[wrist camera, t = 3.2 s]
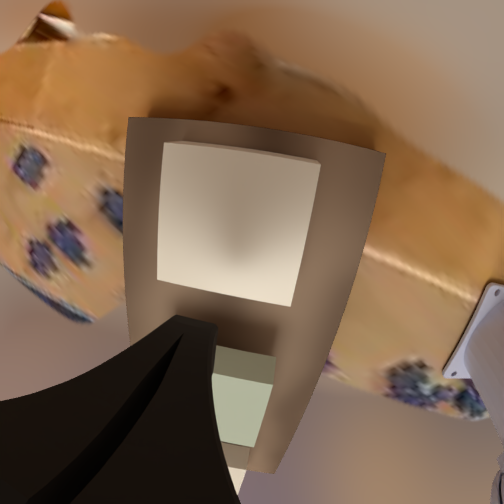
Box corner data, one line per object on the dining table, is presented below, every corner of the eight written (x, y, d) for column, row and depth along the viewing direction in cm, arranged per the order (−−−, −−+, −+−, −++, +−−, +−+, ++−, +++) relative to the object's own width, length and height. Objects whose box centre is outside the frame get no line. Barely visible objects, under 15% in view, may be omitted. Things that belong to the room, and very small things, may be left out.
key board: (374, 151, 14) (386, 153, 12) (275, 457, 24) (274, 473, 22) (146, 117, 15) (128, 117, 13) (155, 429, 25) (148, 444, 23)
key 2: (250, 447, 18) (246, 470, 17) (240, 478, 21) (237, 496, 19) (169, 428, 19) (160, 449, 17) (173, 462, 21) (167, 479, 19)
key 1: (316, 160, 12) (320, 164, 11) (291, 284, 15) (290, 306, 13) (181, 140, 13) (164, 142, 11) (172, 262, 15) (157, 279, 13)
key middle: (276, 357, 15) (273, 384, 13) (257, 422, 17) (253, 447, 15) (163, 332, 15) (148, 355, 13) (166, 401, 17) (156, 423, 16)
